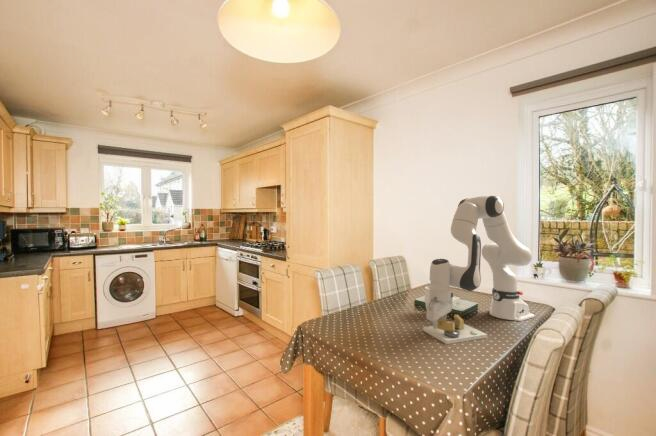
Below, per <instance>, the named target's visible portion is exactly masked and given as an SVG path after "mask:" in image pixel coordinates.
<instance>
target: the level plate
mask: <svg viewBox="0 0 656 436" xmlns="http://www.w3.org/2000/svg"><path fill="white" fill-rule="evenodd" d="M455 330H457V331H458V332H459V337H457V338H452V337H448V336H445V335H444V330H441V329H434V328H433V325H431V326H423V327H422V331H424V332H425V333H427V334H428V335H430V336H431V337H433V338H435V339H436V340H439V341H440V342H442V343H444V344H446V345H451V344H452V345H453V344H457V343H463V342H470V341H476V340H482V339H487V338H488V333H486V332H483V331H481V330H479V329H476V328H475V327H473V326H471V325H468V324H467V323H466V324H465V323H464V329H455Z"/></svg>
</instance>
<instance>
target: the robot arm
mask: <svg viewBox="0 0 656 436" xmlns="http://www.w3.org/2000/svg"><path fill="white" fill-rule="evenodd" d="M504 205H505V204H504V201H503V199H501V198H500V197H499V196H496V195H489V196H487V195H485V196H483V195H482V196H481V195H480V196H476V197H469V198H464V199H462V200H460V201H459V202H458V205H457V208H456V211H455V213H454V215H453V219H452V221H451V225H450V233H451V236H452V237H453V238H454V239H455V240H456V241H458V242H460V243H461V244H463V245H465V246H466V247H467V249H468V255H467V264H466V266H465V267H464V266H458V265H454V264H451V263H450V261H449V260H448V259H445V258H436V259H433V260H432V261H431V263H430V268H429V280H430V283H429V284H430V285H429V286H430V290H429V298H430V299H431V300H430V302H429V303H428V304H427V309H426V312H425V313H426V314H425V316H426V317H425V318H426V320H427V321H430V322H431V323H432V326H433V328H434V329H437V328H438V324H437V321H438V319H442V320H446V321H447V316H448V314H449V313H451V312H452V309H453V304H454V303H453V302H454V301H453V300H454V299H453V298H454V297H455V296H454V295H455V294H454V292H453V291H451V287H453V288H458V289H462V290H465V291H468V292H472V291H475V290H476V289H478V288H479V287H480V285H481V282H482V279H481V276H482V275H481V256H482V258H483V259H484V260H485V261H486V262H487V263H488V265H489V267H490V270H491V272H492V281H493V283H492V284H493V286H492V289H491V292H492V293H491V294H492V297H491V302H490V308H489V310H488V311H489V315H491V316H492V317H495V318H498V319H502V320H509V321H516V322H523V321H525V320H530V319H533V318H535V314H533V313H531V312H530V306H529V305H528V303H526V302H525V301H524V300H523V299H521V297H520V296H523V294H524V292H523V291H522V290H521V291H520V290H518V276H517V275H516V274H515V272H513V271H512V270H511V269H510V267H509V266H514V267H518V266H519V267H522V266H524V267H525V266H528V265H529V264H530V263H531V262H532V257H533V254H532V252H531V250H530V248H529V247H526V246H525V245H524V244H522V243H521V242H520V241H519V240H518V239H517V238H516V237H515V236H514V234H513V232H512V230H511V227H510V224H509V222H508V219H507V216H506V214H505V212H504V210H505V209H504V208H505V206H504ZM479 219H482V222H483V223H482V224H483V226H484V229H485V232H486V235H487V236H486V237H487V238H488V239H489V240H490V241H491V242H490V243H485V244H484V245H483V246H482V243H481V242H482V241H481V237H480V236H479V235H478V234H477V226H478V223H479V222H478V220H479Z"/></svg>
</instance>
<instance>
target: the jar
mask: <svg viewBox="0 0 656 436" xmlns="http://www.w3.org/2000/svg"><path fill="white" fill-rule="evenodd" d="M424 290H425V293H424V303H425V309H426V310H427V304H428V303H429V302H430V300H431V299H430V298H429V290H430V285H428V286H425V287H424Z"/></svg>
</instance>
